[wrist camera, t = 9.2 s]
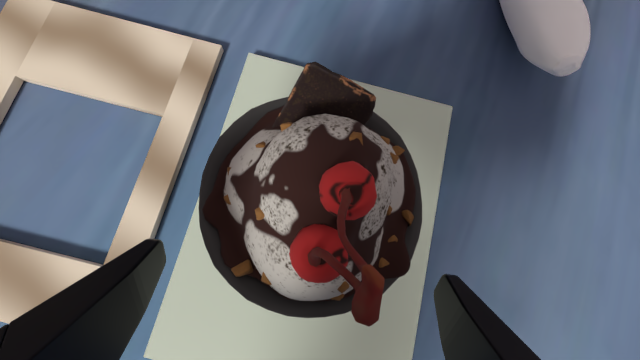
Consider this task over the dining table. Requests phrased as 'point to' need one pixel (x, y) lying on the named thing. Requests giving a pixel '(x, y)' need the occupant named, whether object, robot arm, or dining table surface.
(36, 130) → the dining table surface
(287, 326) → the stub pad
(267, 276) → the sundae
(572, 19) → the white curved piece
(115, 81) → the wooden picture frame
